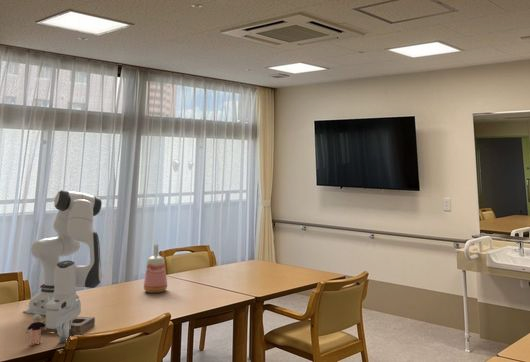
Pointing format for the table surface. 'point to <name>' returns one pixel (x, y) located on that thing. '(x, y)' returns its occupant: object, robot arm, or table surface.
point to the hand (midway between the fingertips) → (64, 331)
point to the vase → (155, 273)
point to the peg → (65, 331)
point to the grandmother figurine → (36, 330)
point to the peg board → (75, 325)
